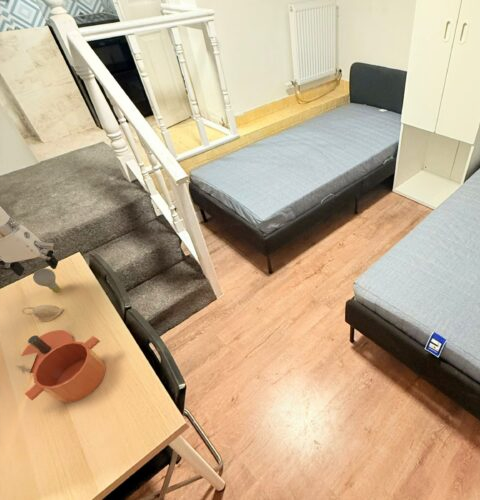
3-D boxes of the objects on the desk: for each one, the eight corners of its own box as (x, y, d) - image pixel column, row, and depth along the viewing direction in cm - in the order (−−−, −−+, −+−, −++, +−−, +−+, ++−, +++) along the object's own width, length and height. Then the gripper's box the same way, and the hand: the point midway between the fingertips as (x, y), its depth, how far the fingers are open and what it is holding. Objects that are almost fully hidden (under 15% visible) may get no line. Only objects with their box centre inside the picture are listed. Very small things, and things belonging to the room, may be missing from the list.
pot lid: (13, 360, 94) (-5, 347, 89) (58, 325, 102) (43, 311, 97) (38, 382, 89) (20, 370, 84) (83, 344, 97) (69, 331, 92)
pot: (34, 396, 86) (11, 382, 80) (96, 342, 97) (80, 326, 91) (61, 421, 82) (39, 408, 76) (123, 362, 92) (108, 346, 86)
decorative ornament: (59, 319, 103) (48, 309, 99) (30, 323, 102) (19, 313, 99) (64, 308, 106) (54, 298, 102) (36, 312, 105) (25, 302, 101)
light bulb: (45, 293, 111) (25, 273, 104) (62, 282, 114) (43, 262, 107) (53, 300, 109) (33, 280, 101) (70, 289, 112) (52, 269, 105)
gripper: (37, 213, 96) (72, 255, 108) (-30, 225, 93) (13, 266, 105) (28, 230, 90) (65, 271, 103) (-44, 244, 88) (3, 284, 100)
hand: (39, 269), depth 104 cm, fingers open, 9 cm apart
